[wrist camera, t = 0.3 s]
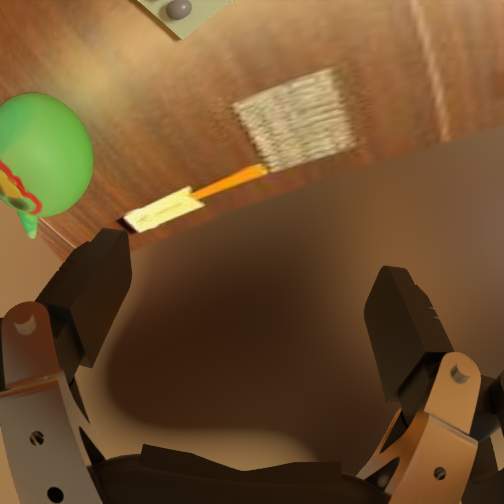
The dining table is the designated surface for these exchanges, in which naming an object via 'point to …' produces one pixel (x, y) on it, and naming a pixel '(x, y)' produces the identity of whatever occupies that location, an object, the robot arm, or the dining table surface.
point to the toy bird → (42, 157)
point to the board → (184, 13)
